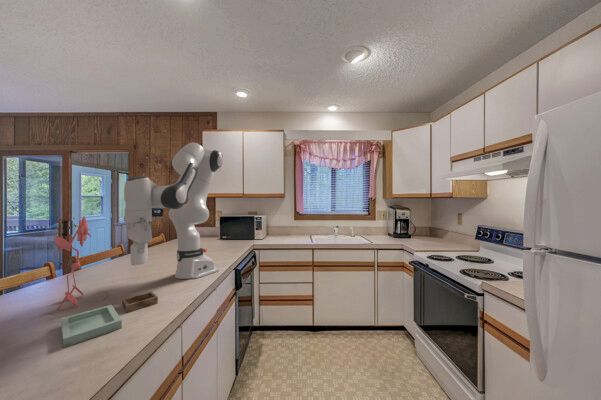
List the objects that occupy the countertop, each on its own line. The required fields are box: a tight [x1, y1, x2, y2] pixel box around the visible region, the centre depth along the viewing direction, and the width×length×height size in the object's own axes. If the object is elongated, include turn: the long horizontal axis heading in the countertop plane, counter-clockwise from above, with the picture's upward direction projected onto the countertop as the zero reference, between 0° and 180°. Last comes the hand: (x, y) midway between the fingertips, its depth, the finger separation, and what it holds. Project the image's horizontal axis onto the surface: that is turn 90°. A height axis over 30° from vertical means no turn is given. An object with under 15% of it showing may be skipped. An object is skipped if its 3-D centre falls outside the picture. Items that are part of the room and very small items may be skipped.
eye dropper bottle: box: [130, 242, 149, 266], centre depth 90 cm, size 4×6×12 cm
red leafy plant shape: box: [51, 216, 109, 316], centre depth 95 cm, size 15×26×35 cm, turn 33°
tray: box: [60, 304, 123, 349], centre depth 74 cm, size 17×13×2 cm
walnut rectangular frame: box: [121, 291, 159, 313], centre depth 90 cm, size 10×8×2 cm
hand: (139, 252), depth 90 cm, fingers closed on eye dropper bottle, 4 cm apart
